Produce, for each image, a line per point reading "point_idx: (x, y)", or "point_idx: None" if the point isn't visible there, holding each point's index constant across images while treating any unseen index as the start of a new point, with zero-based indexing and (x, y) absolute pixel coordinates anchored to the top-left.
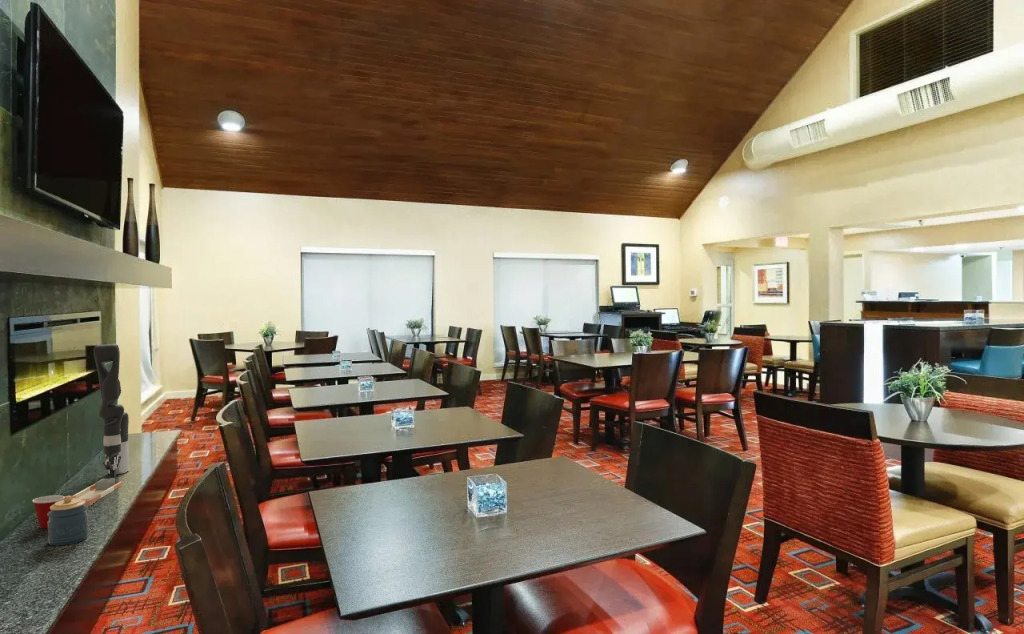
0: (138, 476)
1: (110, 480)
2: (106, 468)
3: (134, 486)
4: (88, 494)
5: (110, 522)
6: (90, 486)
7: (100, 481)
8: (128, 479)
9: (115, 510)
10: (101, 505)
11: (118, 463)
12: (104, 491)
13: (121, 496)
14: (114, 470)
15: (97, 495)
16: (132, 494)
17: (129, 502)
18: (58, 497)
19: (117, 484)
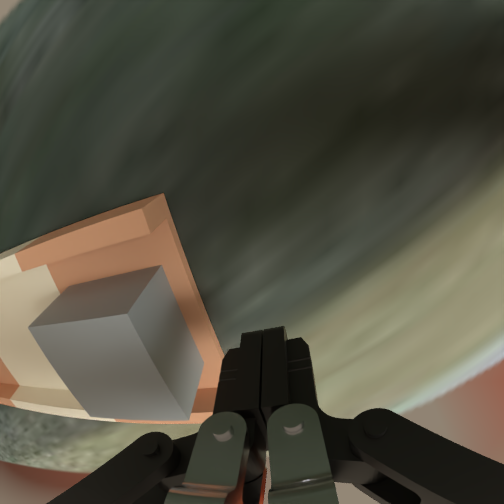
0: (499, 319)
1: (118, 416)
2: (117, 462)
3: None
4: (9, 302)
5: (3, 454)
6: (32, 256)
7: (60, 355)
8: (440, 307)
9: (27, 452)
10: (12, 414)
11: (402, 495)
12: (39, 409)
13: (95, 444)
14: (264, 442)
15: (3, 402)
16: None
17: (76, 470)
18: None
19: (157, 422)
